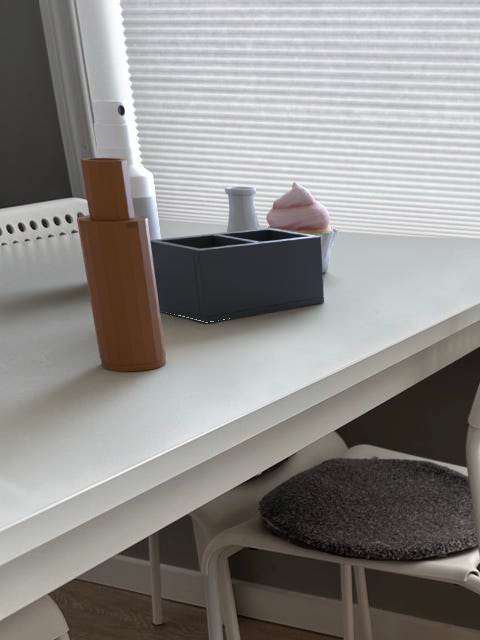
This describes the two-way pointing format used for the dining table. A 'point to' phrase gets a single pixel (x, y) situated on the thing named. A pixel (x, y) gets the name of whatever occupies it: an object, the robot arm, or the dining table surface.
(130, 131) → the spray bottle
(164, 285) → the holder
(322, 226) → the cupcake
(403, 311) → the dining table surface
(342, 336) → the dining table surface
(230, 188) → the flask
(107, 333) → the bottle
